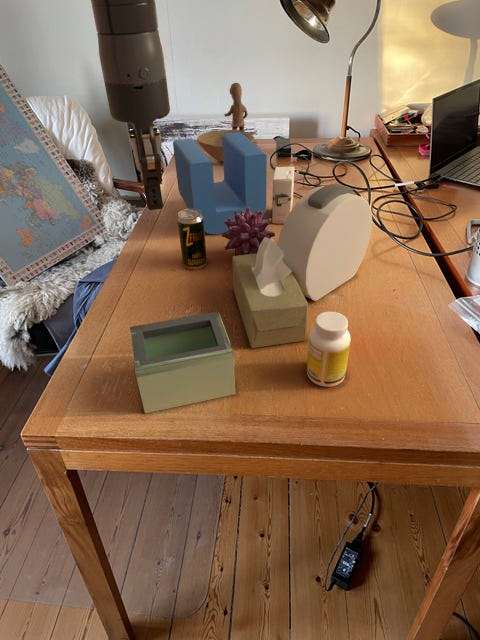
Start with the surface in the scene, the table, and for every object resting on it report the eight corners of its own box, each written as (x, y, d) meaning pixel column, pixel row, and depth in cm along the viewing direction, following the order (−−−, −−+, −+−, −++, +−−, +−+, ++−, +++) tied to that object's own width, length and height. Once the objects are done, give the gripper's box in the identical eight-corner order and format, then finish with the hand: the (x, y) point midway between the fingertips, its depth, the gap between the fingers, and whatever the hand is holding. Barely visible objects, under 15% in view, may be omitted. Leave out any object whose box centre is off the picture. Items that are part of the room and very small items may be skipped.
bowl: (252, 150, 159) (252, 126, 154) (256, 169, 145) (256, 144, 140) (199, 153, 159) (197, 129, 154) (198, 172, 145) (196, 146, 140)
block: (243, 198, 128) (241, 131, 117) (266, 225, 115) (266, 153, 104) (180, 208, 124) (172, 140, 113) (196, 238, 111) (189, 164, 100)
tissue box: (306, 342, 80) (312, 264, 70) (251, 350, 79) (250, 272, 69) (279, 283, 94) (281, 212, 85) (233, 289, 93) (229, 218, 83)
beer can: (179, 260, 103) (173, 211, 95) (202, 255, 104) (198, 206, 97) (187, 272, 99) (181, 221, 91) (210, 266, 100) (206, 216, 93)
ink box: (274, 209, 122) (275, 165, 115) (292, 209, 122) (294, 165, 114) (271, 223, 115) (272, 178, 108) (291, 224, 115) (293, 178, 107)
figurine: (243, 139, 169) (241, 79, 157) (254, 144, 164) (254, 83, 152) (222, 144, 166) (219, 83, 153) (233, 149, 161) (231, 87, 148)
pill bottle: (347, 365, 75) (356, 312, 68) (341, 392, 71) (350, 338, 64) (310, 357, 77) (315, 304, 70) (302, 383, 72) (306, 329, 65)
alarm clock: (336, 256, 102) (348, 168, 90) (364, 268, 98) (381, 178, 86) (272, 294, 90) (277, 198, 78) (302, 310, 86) (311, 211, 74)
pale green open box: (139, 368, 76) (144, 413, 68) (129, 326, 70) (134, 370, 63) (221, 352, 78) (235, 394, 71) (218, 310, 73) (233, 351, 65)
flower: (219, 272, 101) (229, 237, 109) (273, 274, 99) (279, 238, 106) (211, 231, 93) (222, 196, 100) (270, 232, 90) (277, 196, 98)
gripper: (101, 67, 60) (126, 193, 71) (105, 88, 50) (132, 232, 61) (159, 63, 61) (174, 187, 72) (173, 82, 51) (188, 223, 62)
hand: (155, 207), depth 66 cm, fingers closed
